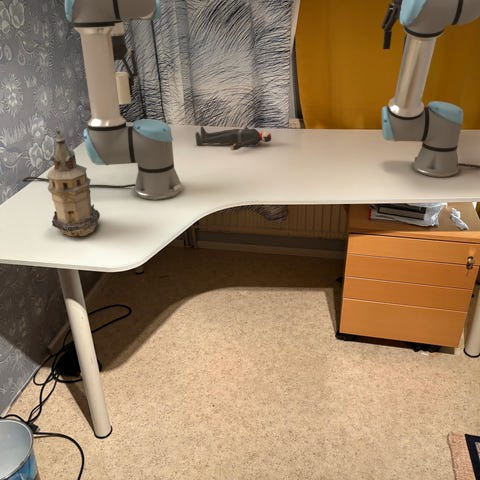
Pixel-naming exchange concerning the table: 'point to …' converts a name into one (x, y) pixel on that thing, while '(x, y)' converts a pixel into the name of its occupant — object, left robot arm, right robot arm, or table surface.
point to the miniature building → (70, 193)
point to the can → (123, 87)
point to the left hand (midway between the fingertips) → (121, 95)
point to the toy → (233, 137)
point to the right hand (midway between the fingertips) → (395, 52)
